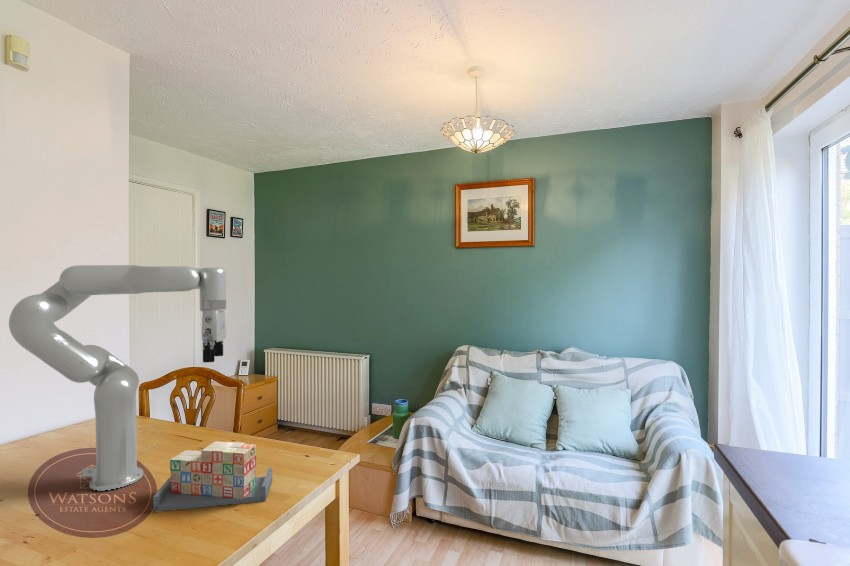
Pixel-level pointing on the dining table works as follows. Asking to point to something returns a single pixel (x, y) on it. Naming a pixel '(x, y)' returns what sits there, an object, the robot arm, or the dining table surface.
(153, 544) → the dining table surface
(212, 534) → the dining table surface
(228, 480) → the stack of blocks
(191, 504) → the board
